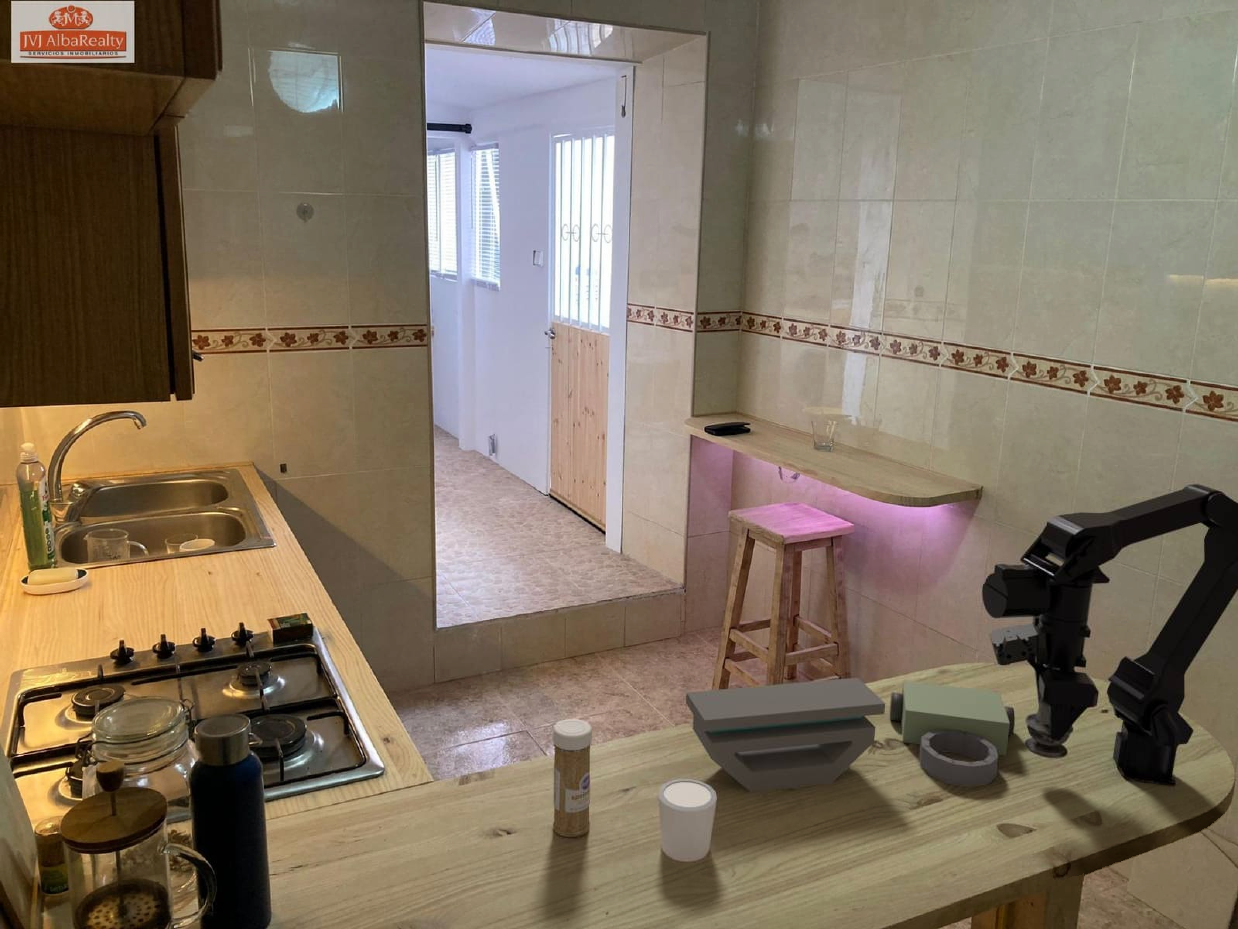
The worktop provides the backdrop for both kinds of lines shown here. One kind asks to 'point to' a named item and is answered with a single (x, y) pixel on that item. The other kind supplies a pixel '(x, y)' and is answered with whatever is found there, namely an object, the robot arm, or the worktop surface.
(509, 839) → the worktop surface
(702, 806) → the white cup
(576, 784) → the sprinkles bottle
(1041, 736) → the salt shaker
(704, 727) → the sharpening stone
